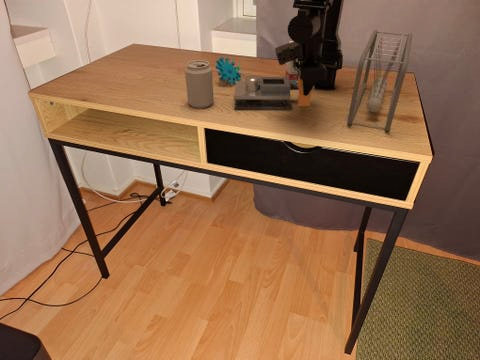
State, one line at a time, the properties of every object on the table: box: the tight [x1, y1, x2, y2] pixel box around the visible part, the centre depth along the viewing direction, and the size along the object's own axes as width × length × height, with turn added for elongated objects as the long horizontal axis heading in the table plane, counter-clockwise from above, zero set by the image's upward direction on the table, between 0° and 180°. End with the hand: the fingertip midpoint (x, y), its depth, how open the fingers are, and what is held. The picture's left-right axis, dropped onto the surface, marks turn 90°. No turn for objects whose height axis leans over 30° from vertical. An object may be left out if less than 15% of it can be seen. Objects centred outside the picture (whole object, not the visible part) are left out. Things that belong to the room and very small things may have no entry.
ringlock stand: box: [234, 74, 299, 111], centre depth 103 cm, size 22×12×7 cm, turn 89°
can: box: [184, 59, 215, 109], centre depth 101 cm, size 8×8×12 cm
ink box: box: [284, 40, 299, 80], centre depth 116 cm, size 9×5×12 cm, turn 98°
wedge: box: [297, 77, 315, 107], centre depth 94 cm, size 4×2×9 cm, turn 89°
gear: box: [214, 56, 243, 86], centre depth 117 cm, size 11×6×10 cm
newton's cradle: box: [346, 29, 413, 132], centre depth 97 cm, size 30×10×18 cm, turn 157°
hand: (305, 93), depth 95 cm, fingers closed on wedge, 2 cm apart
